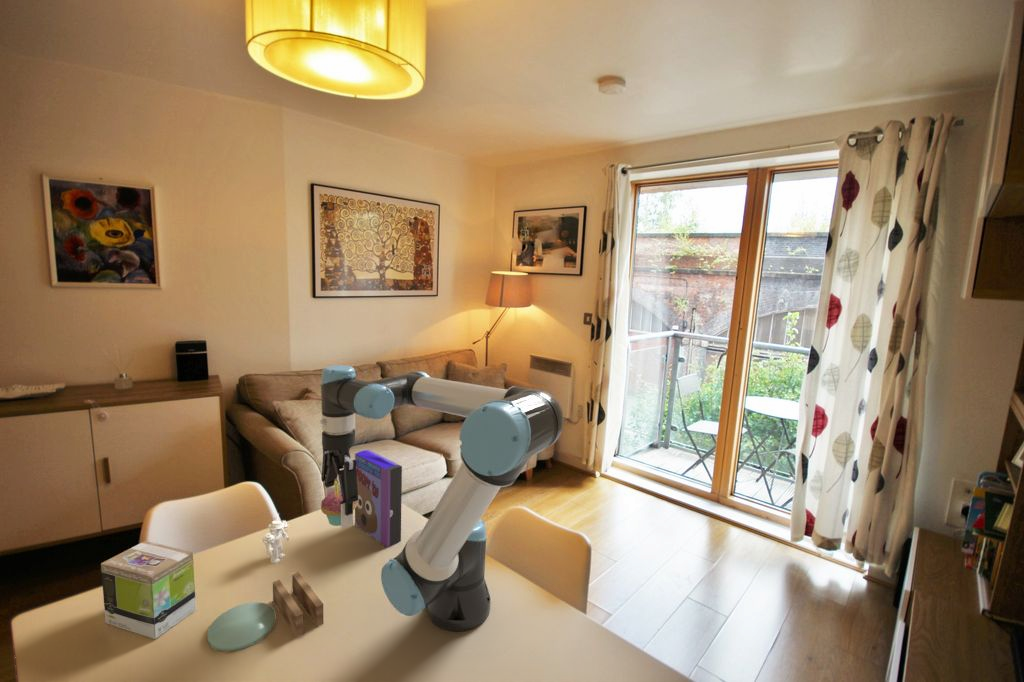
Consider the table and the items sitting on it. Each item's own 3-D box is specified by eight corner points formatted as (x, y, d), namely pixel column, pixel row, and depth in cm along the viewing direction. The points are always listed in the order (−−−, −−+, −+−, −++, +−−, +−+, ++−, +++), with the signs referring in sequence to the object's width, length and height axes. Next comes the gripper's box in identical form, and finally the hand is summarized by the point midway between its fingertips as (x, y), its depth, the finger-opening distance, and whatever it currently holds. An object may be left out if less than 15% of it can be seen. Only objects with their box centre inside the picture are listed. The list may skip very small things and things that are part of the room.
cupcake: (349, 531, 109) (349, 484, 107) (314, 529, 109) (313, 481, 108) (362, 512, 118) (362, 468, 116) (329, 510, 118) (329, 466, 116)
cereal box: (354, 525, 145) (354, 453, 142) (368, 519, 149) (368, 449, 145) (387, 547, 134) (388, 470, 131) (400, 541, 138) (401, 465, 134)
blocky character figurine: (280, 548, 131) (279, 509, 130) (293, 550, 131) (292, 510, 129) (259, 568, 123) (258, 526, 121) (273, 569, 122) (272, 528, 120)
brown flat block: (323, 623, 105) (323, 603, 104) (316, 626, 104) (316, 606, 103) (298, 589, 115) (298, 571, 114) (292, 592, 114) (292, 574, 113)
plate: (283, 629, 102) (283, 624, 102) (216, 662, 93) (215, 657, 93) (264, 598, 111) (264, 594, 111) (201, 625, 102) (201, 621, 102)
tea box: (198, 609, 107) (194, 551, 105) (154, 641, 98) (150, 578, 96) (149, 594, 111) (145, 538, 109) (103, 624, 102) (97, 563, 99)
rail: (303, 633, 101) (302, 613, 101) (296, 637, 100) (295, 616, 100) (279, 598, 112) (279, 579, 111) (273, 600, 111) (272, 582, 110)
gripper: (306, 421, 115) (307, 506, 118) (342, 446, 100) (342, 542, 103) (335, 416, 120) (336, 497, 123) (374, 439, 105) (373, 531, 108)
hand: (339, 517), depth 113 cm, fingers closed on cupcake, 8 cm apart
